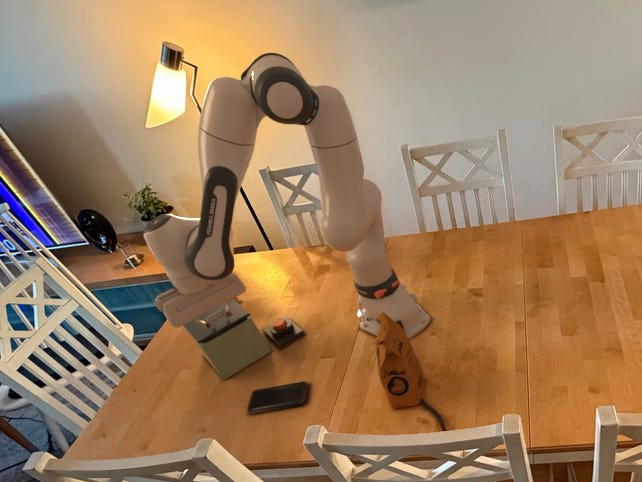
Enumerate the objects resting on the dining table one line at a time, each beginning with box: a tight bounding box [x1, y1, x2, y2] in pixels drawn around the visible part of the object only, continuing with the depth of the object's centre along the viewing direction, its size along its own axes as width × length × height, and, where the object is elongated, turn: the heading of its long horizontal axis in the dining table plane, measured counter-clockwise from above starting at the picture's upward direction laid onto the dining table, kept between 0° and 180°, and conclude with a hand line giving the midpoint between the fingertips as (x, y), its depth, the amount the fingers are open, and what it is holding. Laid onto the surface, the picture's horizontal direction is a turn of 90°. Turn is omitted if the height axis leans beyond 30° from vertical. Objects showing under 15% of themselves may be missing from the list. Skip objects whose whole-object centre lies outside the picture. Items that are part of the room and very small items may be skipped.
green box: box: [182, 315, 272, 380], centre depth 146 cm, size 16×15×13 cm
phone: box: [246, 381, 309, 415], centre depth 133 cm, size 8×1×15 cm
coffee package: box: [375, 313, 425, 409], centre depth 122 cm, size 10×12×22 cm
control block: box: [262, 316, 305, 350], centre depth 153 cm, size 11×8×4 cm
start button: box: [272, 318, 287, 330], centre depth 151 cm, size 4×4×2 cm
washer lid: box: [182, 299, 251, 344], centre depth 139 cm, size 17×15×4 cm
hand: (219, 320), depth 136 cm, fingers closed on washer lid, 5 cm apart
